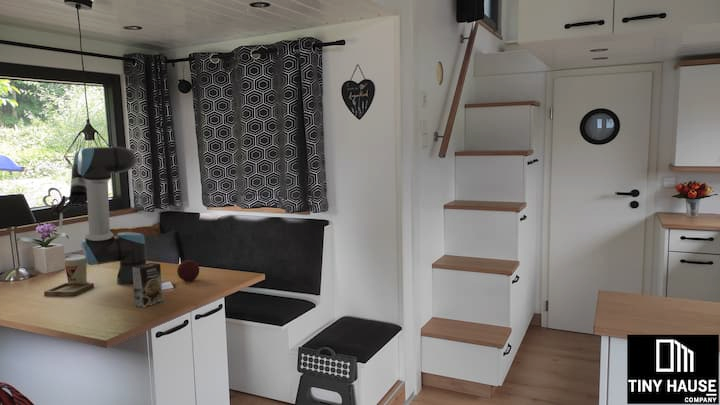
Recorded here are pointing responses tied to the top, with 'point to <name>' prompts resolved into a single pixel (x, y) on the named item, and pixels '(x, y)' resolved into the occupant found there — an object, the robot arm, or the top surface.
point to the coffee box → (147, 284)
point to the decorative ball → (188, 270)
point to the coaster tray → (69, 289)
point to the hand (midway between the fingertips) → (76, 225)
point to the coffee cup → (76, 269)
